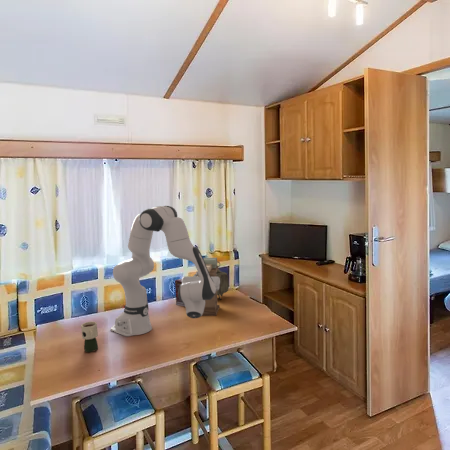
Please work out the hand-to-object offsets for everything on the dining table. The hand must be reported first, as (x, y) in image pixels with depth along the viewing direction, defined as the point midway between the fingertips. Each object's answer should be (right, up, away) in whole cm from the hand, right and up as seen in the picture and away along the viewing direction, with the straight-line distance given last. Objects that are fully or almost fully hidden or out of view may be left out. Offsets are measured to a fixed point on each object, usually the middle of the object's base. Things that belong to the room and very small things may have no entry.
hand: (202, 272), depth 205 cm
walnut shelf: (+3, -26, +19) cm, 32 cm away
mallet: (+2, -1, +11) cm, 11 cm away
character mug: (-52, -34, -26) cm, 67 cm away
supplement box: (-14, -25, +34) cm, 45 cm away
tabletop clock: (+7, -23, +43) cm, 49 cm away
